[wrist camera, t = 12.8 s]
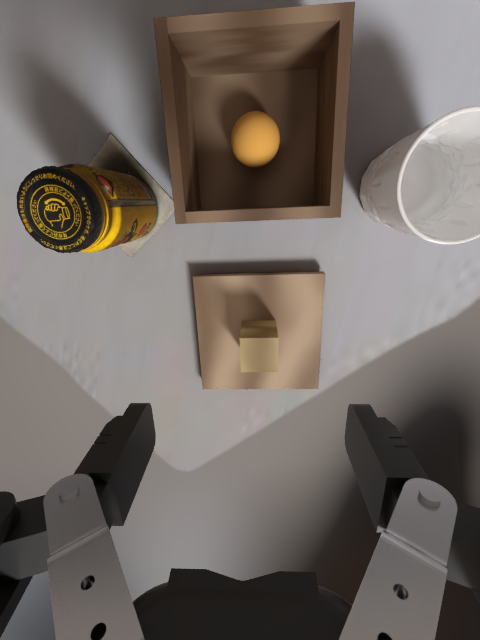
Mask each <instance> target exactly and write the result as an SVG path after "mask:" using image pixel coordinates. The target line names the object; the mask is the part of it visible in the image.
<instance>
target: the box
mask: <svg viewBox="0 0 480 640" xmlns="http://www.w3.org/2000/svg"><path fill="white" fill-rule="evenodd" d="M354 8H355V2H345V3H333V4H320V5H308V6H296V7H284V8H272V9H259V10H247V11H235V12H223V13H211V14H199V15H186V16H174V17H162V18H154V26H155V36H156V45H157V54H158V64H159V73H160V82H161V92H162V101H163V110H164V119H165V129H166V138H167V147H168V157H169V166H170V175H171V185H172V194H173V203H174V212H175V222H176V224H185V223H210V222H235V221H259V220H284V219H309V218H334V217H341V204H342V189H343V173H344V158H345V143H346V128H347V113H348V98H349V83H350V68H351V53H352V38H353V23H354ZM251 111H260V112H264V113H266V114H268V115H269V116H270V117H271V118H272V119H273V120H274V121H275V123H276V124H277V127H278V129H279V134H280V143H279V148H278V151H277V153H276V155H275V156H274V158H273V159H272V160H271V161H270V162H269V163H267V164H266V165H264V166H261V167H248V166H246V165H244V164H242V163H241V162H240V161H239V160H238V159H237V158H236V156H235V155H234V153H233V150H232V147H231V133H232V130H233V127H234V125H235V123H236V122H237V120H238V119H239V118H240V117H241V116H243V115H244V114H246V113H248V112H251Z"/></svg>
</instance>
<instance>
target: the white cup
mask: <svg viewBox="0 0 480 640" xmlns="http://www.w3.org/2000/svg"><path fill="white" fill-rule="evenodd" d="M359 196H360V199H361V202H362V206H363V209H364V211H365V212H366V213H367V214H368V215H369V216H370V217H371V218H372V219H373V220H374V221H375V222H377V223H381V224H384V225H385V226H387V227H389V228H391V229H394V230H397V231H399V232H402V233H404V234H408V235H411V236H414V237H417V238H420V239H424V240H427V241H430V242H433V243H437V244H459V243H464V242H467V241H470V240H473V239H476V238H478V237H480V106H472V107H466V108H462V109H459V110H456V111H453V112H451V113H448V114H446V115H445V116H443V117H441V118H439V119H437V120H436V121H434V122H432V123H430V124H428V125H427V126H425V127H423V128H421V129H419V130H418V131H416V132H414V133H412V134H410V135H408V136H407V137H405V138H403V139H402V140H400V141H399V142H397V143H395V144H394V145H392V146H391V147H389V148H388V149H387V150H385V151H384V152H383V153H381V154H380V155H379V156H377V157H376V158H375V159H374V160H372V161H371V163H370V164H369V166H368V168H367V170H366V171H365V173H364V175H363V176H362V179H361V187H360V194H359Z"/></svg>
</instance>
